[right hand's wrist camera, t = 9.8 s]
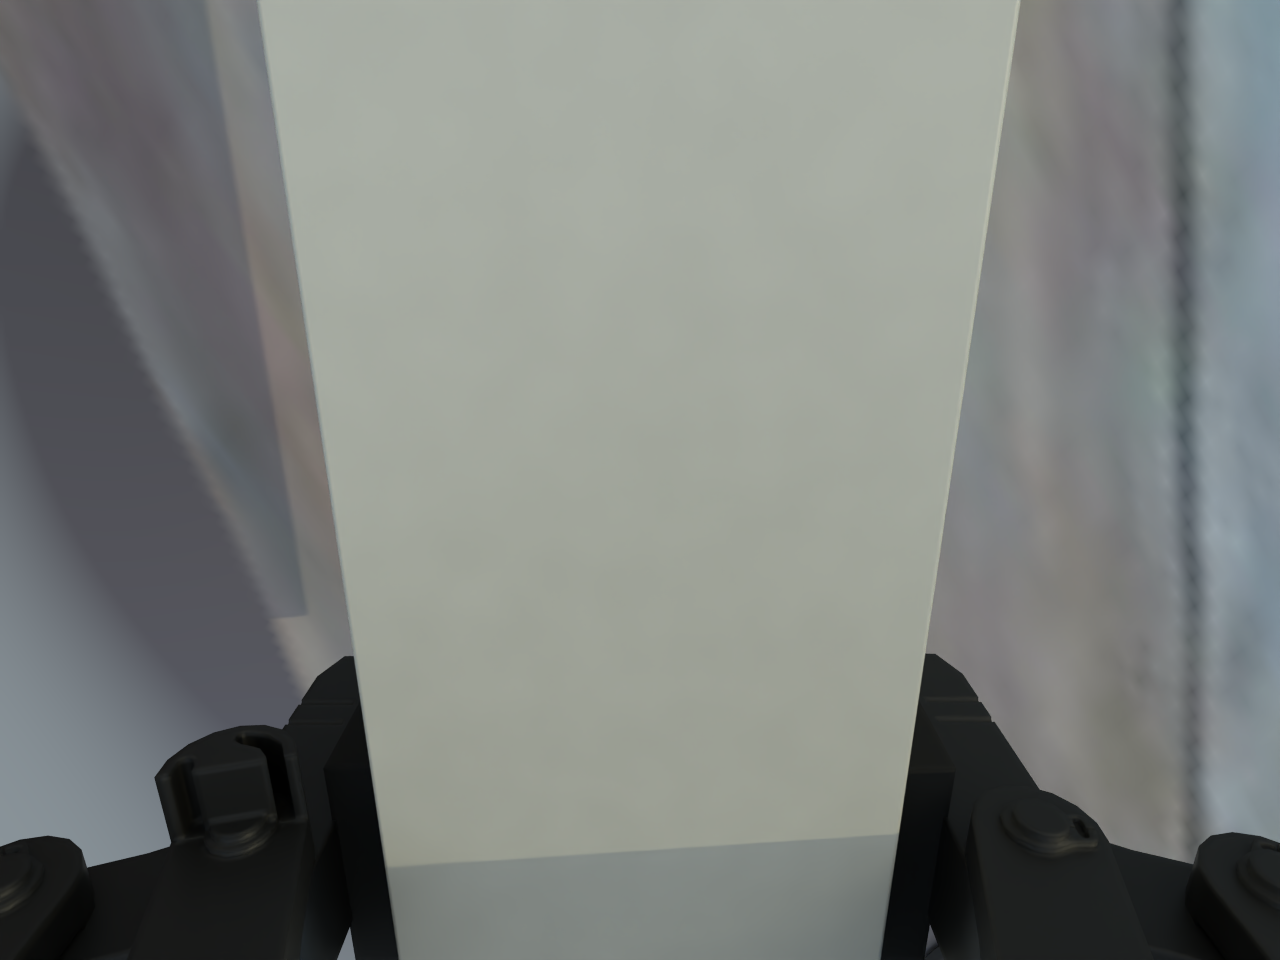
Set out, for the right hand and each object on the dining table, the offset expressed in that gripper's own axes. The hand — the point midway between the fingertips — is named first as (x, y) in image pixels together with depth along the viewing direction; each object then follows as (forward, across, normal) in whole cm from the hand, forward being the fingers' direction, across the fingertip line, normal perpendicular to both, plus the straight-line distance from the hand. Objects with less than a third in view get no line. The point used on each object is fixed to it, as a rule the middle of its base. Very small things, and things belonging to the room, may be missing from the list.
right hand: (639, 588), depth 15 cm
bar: (+1, 0, -28) cm, 28 cm away
